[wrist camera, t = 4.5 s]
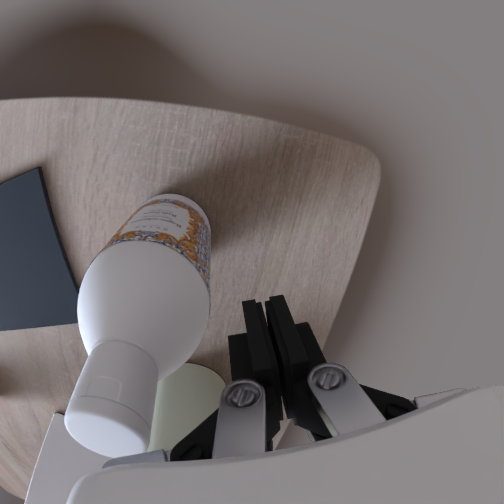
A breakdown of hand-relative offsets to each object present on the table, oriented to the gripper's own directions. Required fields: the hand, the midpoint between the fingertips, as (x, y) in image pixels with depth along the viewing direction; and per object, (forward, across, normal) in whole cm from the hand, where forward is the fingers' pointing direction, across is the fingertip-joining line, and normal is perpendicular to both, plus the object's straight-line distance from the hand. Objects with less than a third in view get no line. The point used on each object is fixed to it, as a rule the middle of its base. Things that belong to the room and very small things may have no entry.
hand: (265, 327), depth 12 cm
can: (+15, +9, +19) cm, 26 cm away
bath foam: (+15, +6, 0) cm, 16 cm away
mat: (+15, +28, 0) cm, 32 cm away
